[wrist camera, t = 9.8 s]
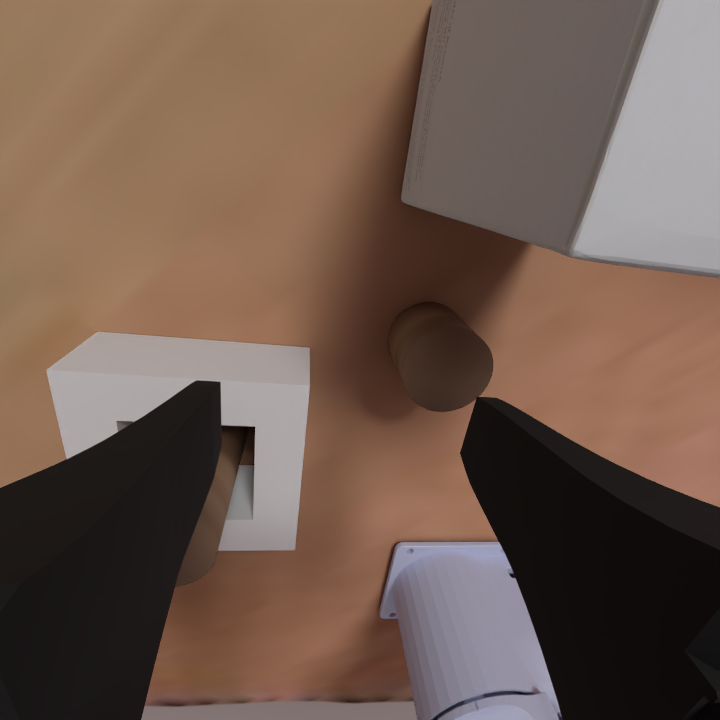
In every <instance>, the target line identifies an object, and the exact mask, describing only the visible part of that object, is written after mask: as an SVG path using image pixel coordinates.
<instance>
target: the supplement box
mask: <svg viewBox="0 0 720 720" xmlns="http://www.w3.org/2000/svg"><path fill="white" fill-rule="evenodd" d="M401 201H402V202H403V203H405V204H408V205H411V206H414V207H417V208H420V209H423V210H426V211H429V212H432V213H436V214H439V215H442V216H445V217H448V218H452V219H455V220H458V221H462V222H465V223H468V224H471V225H475V226H478V227H481V228H484V229H487V230H490V231H493V232H496V233H500V234H503V235H506V236H509V237H512V238H515V239H518V240H521V241H525V242H528V243H531V244H534V245H537V246H540V247H543V248H547V249H550V250H553V251H555V252H558V253H560V254H563V255H565V256H568V257H571V258H576V259H581V260H586V261H593V262H599V263H606V264H612V265H620V266H628V267H636V268H644V269H651V270H659V271H667V272H675V273H683V274H691V275H699V276H707V277H717V278H720V0H433V3H432V9H431V14H430V21H429V27H428V33H427V38H426V45H425V51H424V58H423V64H422V71H421V76H420V81H419V88H418V95H417V101H416V107H415V113H414V119H413V125H412V132H411V138H410V144H409V150H408V156H407V162H406V168H405V174H404V181H403V187H402V193H401Z"/></svg>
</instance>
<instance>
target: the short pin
mask: <svg viewBox="0 0 720 720" xmlns="http://www.w3.org/2000/svg"><path fill="white" fill-rule="evenodd" d="M388 348H389V351H390V354H391V356H392V359H393V361H394V363H395V365H396V368H397V370H398V372H399V374H400V376H401V379H402V381H403V383H404V385H405V388H406V390H407V392H408V394H409V396H410V397H411V398H412V400H413V401H414V402H415V403H417V404H418V405H419V406H421V407H423V408H425V409H428V410H431V411H438V412H446V411H452V410H456V409H459V408H462V407H464V406H466V405H468V404H469V403H471V402H472V401H474V400H475V399H476V398H477V397H478V396H480V395H481V393H482V392H483V391H484V390H485V388H486V387H487V385H488V383H489V381H490V379H491V376H492V372H493V358H492V354H491V351H490V349H489V347H488V346H487V344H486V343H485V342H484V341H483V340H482V339H481V338H480V337H479V336H478V335H477V334H476V333H475V332H474V331H473V330H472V329H471V328H470V327H468V326H467V325H466V324H465V323H464V322H463V321H462V320H461V319H460V318H459V317H458V316H457V315H456V314H455V313H454V312H453V311H452V310H451V309H449V308H448V307H446V306H444V305H442V304H439V303H434V302H425V303H419V304H416V305H413V306H411V307H409V308H407V309H406V310H404V311H403V312H402V313H401V314H400V315H399V316H398V317H397V318H396V319H395V321H394V322H393V324H392V326H391V328H390V331H389V335H388Z"/></svg>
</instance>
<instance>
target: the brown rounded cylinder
mask: <svg viewBox="0 0 720 720" xmlns="http://www.w3.org/2000/svg"><path fill="white" fill-rule="evenodd" d="M221 431H222V446H221V451H220V455H219V459H218V464H217V468H216V472H215V476H214V479H213V482H212V485H211V488H210V490H209V493H208V496H207V498H206V501H205V504H204V506H203V509H202V512H201V514H200V517H199V519H198V522H197V525H196V527H195V530H194V533H193V535H192V538H191V540H190V543H189V546H188V548H187V551H186V553H185V556H184V559H183V562H182V565H181V568H180V571H179V574H178V577H177V581H176V585H175V587H177V586H181V585H185V584H188V583H191V582H193V581H196V580H197V579H199V578H201V577H202V576H204V575H205V574H206V573H207V572H208V571H209V570H210V569H211V567H212V566H213V564H214V562H215V559H216V556H217V552H218V548H219V544H220V540H221V536H222V532H223V528H224V524H225V520H226V516H227V512H228V508H229V504H230V500H231V496H232V492H233V488H234V484H235V480H236V476H237V472H238V468H239V464H240V460H241V456H242V452H243V448H244V444H245V440H246V437H247V433H248V426H229V425H221Z"/></svg>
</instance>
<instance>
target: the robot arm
mask: <svg viewBox="0 0 720 720" xmlns="http://www.w3.org/2000/svg"><path fill="white" fill-rule="evenodd" d="M221 446H222V431H221V382H217V381H200V380H196V381H194V382H193V383H191V384H190V385H188V386H187V387H185V388H184V389H182V390H181V391H180V392H178V393H177V394H175V395H174V396H173V397H171V398H170V399H168V400H167V401H165V402H164V403H162V404H161V405H159V406H158V407H156V408H155V409H154V410H152V411H151V412H149V413H148V414H146V415H145V416H143V417H141V418H140V419H138V420H137V421H135V422H133V423H132V424H130V425H128V426H127V427H125V428H123V429H122V430H120V431H118V432H117V433H115V434H114V435H112V436H110V437H109V438H107V439H105V440H103V441H101V442H100V443H98V444H96V445H94V446H92V447H90V448H88V449H86V450H84V451H82V452H80V453H78V454H76V455H74V456H72V457H70V458H68V459H66V460H64V461H62V462H60V463H58V464H56V465H54V466H51V467H49V468H46V469H44V470H42V471H39V472H37V473H35V474H32V475H30V476H28V477H25V478H23V479H21V480H18V481H16V482H13V483H11V484H9V485H6V486H4V487H2V488H0V720H141V718H142V713H143V709H144V705H145V701H146V697H147V693H148V689H149V685H150V681H151V676H152V672H153V668H154V664H155V660H156V657H157V653H158V649H159V645H160V641H161V637H162V633H163V629H164V626H165V622H166V618H167V614H168V610H169V607H170V603H171V599H172V596H173V592H174V588H175V585H176V581H177V577H178V574H179V571H180V568H181V565H182V562H183V559H184V556H185V553H186V551H187V548H188V546H189V543H190V540H191V538H192V535H193V533H194V530H195V527H196V525H197V522H198V519H199V517H200V514H201V512H202V509H203V506H204V504H205V501H206V498H207V496H208V493H209V490H210V488H211V485H212V482H213V479H214V476H215V472H216V468H217V464H218V459H219V455H220V451H221ZM460 454H461V457H462V461H463V464H464V467H465V470H466V473H467V476H468V479H469V482H470V484H471V486H472V489H473V491H474V493H475V495H476V497H477V499H478V501H479V503H480V505H481V507H482V509H483V511H484V513H485V515H486V517H487V519H488V521H489V523H490V525H491V527H492V529H493V531H494V533H495V535H496V537H497V539H498V541H499V542H400V543H398V544H397V545H396V546H395V548H394V553H393V557H392V561H391V565H390V569H389V573H388V577H387V581H386V585H385V590H384V594H383V598H382V602H381V606H380V610H379V613H380V617H381V618H383V619H398V624H399V629H400V634H401V639H402V644H403V649H404V654H405V659H406V664H407V669H408V675H409V680H410V685H411V690H412V695H413V700H414V705H415V710H416V715H417V720H720V508H719V507H717V506H714V505H711V504H708V503H706V502H703V501H700V500H698V499H695V498H693V497H690V496H688V495H685V494H683V493H680V492H678V491H675V490H673V489H670V488H668V487H665V486H663V485H660V484H658V483H656V482H653V481H651V480H649V479H646V478H644V477H642V476H640V475H638V474H636V473H634V472H632V471H629V470H627V469H625V468H623V467H621V466H619V465H617V464H615V463H613V462H611V461H609V460H607V459H605V458H603V457H601V456H599V455H597V454H595V453H594V452H592V451H590V450H588V449H586V448H584V447H582V446H581V445H579V444H577V443H575V442H573V441H572V440H570V439H568V438H566V437H565V436H563V435H561V434H560V433H558V432H556V431H555V430H553V429H551V428H549V427H548V426H546V425H544V424H543V423H541V422H539V421H538V420H536V419H534V418H533V417H531V416H529V415H528V414H526V413H524V412H523V411H521V410H519V409H517V408H516V407H514V406H512V405H510V404H508V403H506V402H504V401H502V400H500V399H498V398H489V397H477V399H476V402H475V405H474V409H473V412H472V415H471V419H470V422H469V425H468V429H467V432H466V435H465V439H464V442H463V445H462V449H461V452H460Z"/></svg>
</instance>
